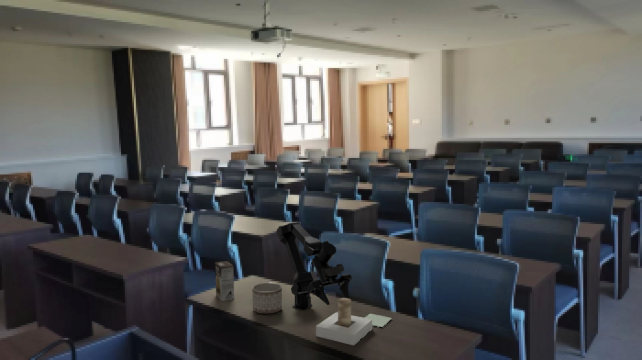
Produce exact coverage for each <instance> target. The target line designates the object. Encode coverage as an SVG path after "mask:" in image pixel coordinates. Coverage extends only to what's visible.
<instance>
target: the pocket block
mask: <svg viewBox="0 0 642 360" xmlns="http://www.w3.org/2000/svg"><path fill="white" fill-rule="evenodd" d="M372 330H373V326H372V320H371V319H367V318H365V317H361V316H356V315H352V314H351V326H350V327H348V328H347V327H343V326H339V325H338V311H336V312H334V313H333V314H331V315H330V316H329V317H327V318H325V319H324V320H323V321H321V322H320V323H318V324H317V325H315V336H316V337H318V338H322V339H326V340H330V341H335V342H339V343H343V344H345V345H346V344H347V345H350V346H355V345H356V344H357V343H359V341H360V339H361V338H362V339H363V338H364V337H365V336H366V335H367V333H368V332H369V331H370V332H371V331H372ZM370 332H369V333H370ZM369 333H368V334H369ZM362 339H361V340H362Z"/></svg>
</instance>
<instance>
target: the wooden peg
mask: <svg viewBox="0 0 642 360" xmlns="http://www.w3.org/2000/svg"><path fill="white" fill-rule="evenodd" d="M337 312H338V325H339V326H343V327H347V328H348V327H350V326H351V315H352V299H351V298H349V299H348V298H345V297H342V298H339V299H337Z"/></svg>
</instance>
